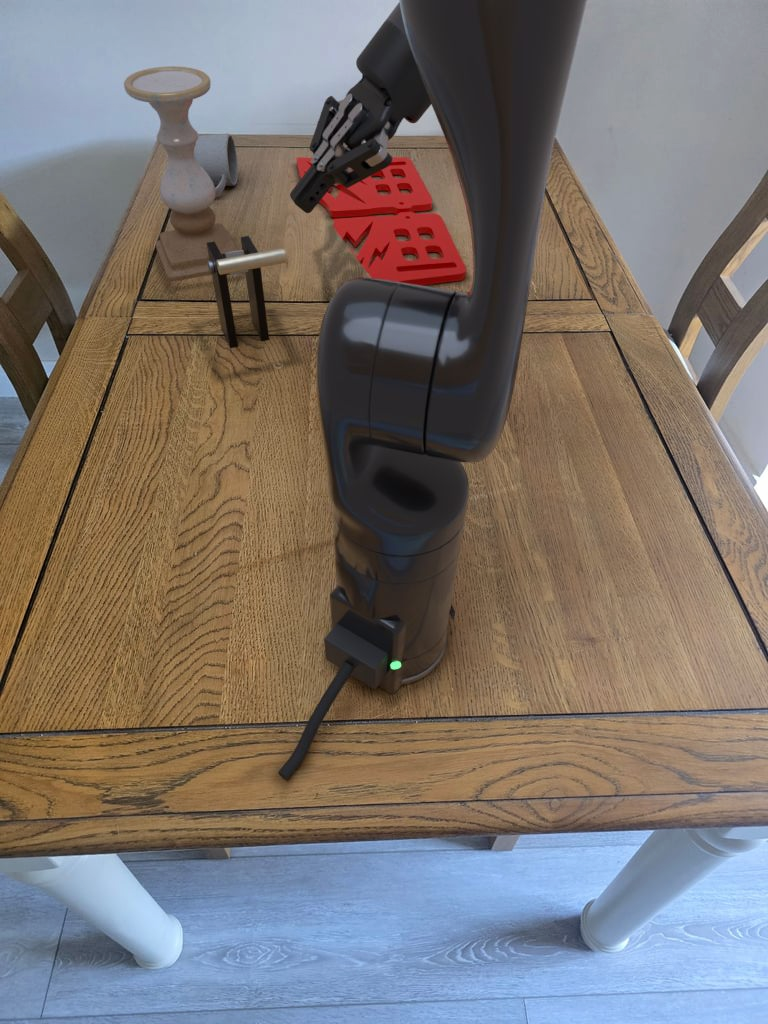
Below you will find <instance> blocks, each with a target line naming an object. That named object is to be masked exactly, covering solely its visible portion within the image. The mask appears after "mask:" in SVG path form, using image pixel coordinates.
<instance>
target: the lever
mask: <svg viewBox="0 0 768 1024" xmlns="http://www.w3.org/2000/svg"><path fill="white" fill-rule="evenodd" d="M238 250H239V249H238ZM222 256H223V258H224V259H219V260H216V264H217V269H218V272H219V274H220V275H222V274H227V276H233V275H238V274H244V273H245V272H248V270H249V269H255V268H260V267H261V268H264V267H271V266H276V265H282V264H286V263H287V262H288V256H287V252H286V249H285V248H284V247H280V248H276V249H275V248H274V249H271V250H270V249H269V250H265V251H258V253H253V254H247V255H245V254H244V250H242V249H240V250H239V251H233V252H227V253H222Z"/></svg>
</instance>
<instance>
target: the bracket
mask: <svg viewBox="0 0 768 1024" xmlns="http://www.w3.org/2000/svg"><path fill="white" fill-rule="evenodd" d="M206 244H207V250H208V255H209V261H207V264H208V268H209V271H210V273H212V275H211V277H212V284H213V288H214V289H213V290H214V296H215V301H216V307H217V312H218V317H219V323H220V328H221V331H222V334H223V336H224V339H225V340H226V343H227V344H228V347H229V349H234V348H238V347H239V344H238V338H237V331H236V326H235V325H236V324H235V320H234V313H233V306H232V300H231V295H230V287H229V281H228V275H227V274H222V275H220V274H219V272H218V269H217V264H216V260H219V259H224V258H223V256H222V254H221V252H220V251H219V249H218V247H217V245H216V243H215V242H209V243H206ZM240 244H241V250H244V254H245V255H247V254H253V253H258V252H259V251H258V250H257V248H256V246H255V244H254V242H253V241H252V239H251V237H250V236H249V235H245V236H241V237H240ZM244 273H245V274H244V275H245V279H246V287H247V294H248V295H247V296H248V302H249V303H248V304H249V311H250V317H251V323H252V326H253V327H254V330H255V331H256V333H257V335H258V337H259V339H260V342H267V341H270V334H269V326H268V319H267V318H268V317H267V309H266V301H265V300H266V299H265V294H264V285H263V284H264V283H263V277H262V275H263V274H262V267H260V268H255V269H249V270H248V272H244Z"/></svg>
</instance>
